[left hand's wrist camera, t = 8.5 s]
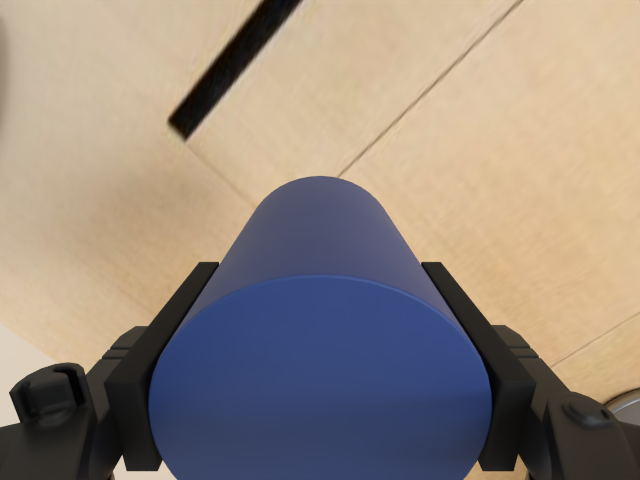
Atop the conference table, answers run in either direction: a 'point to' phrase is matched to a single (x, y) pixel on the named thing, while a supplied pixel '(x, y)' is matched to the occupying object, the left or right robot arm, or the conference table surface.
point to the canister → (320, 355)
